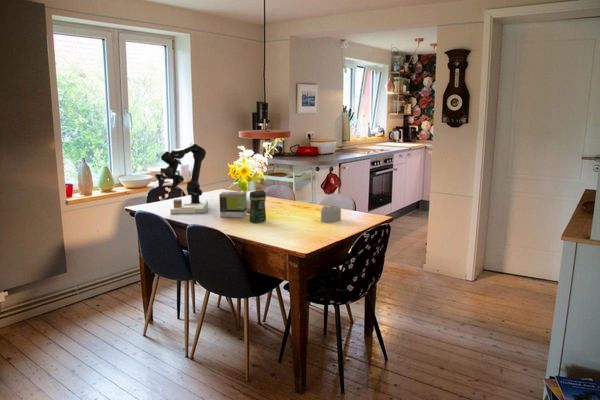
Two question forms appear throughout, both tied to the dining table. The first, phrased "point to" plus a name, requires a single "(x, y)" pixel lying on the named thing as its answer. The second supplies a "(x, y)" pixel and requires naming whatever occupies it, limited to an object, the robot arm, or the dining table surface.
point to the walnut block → (177, 202)
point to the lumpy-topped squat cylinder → (330, 214)
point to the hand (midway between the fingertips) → (165, 189)
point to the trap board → (190, 209)
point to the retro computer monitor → (233, 204)
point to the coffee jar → (257, 206)
